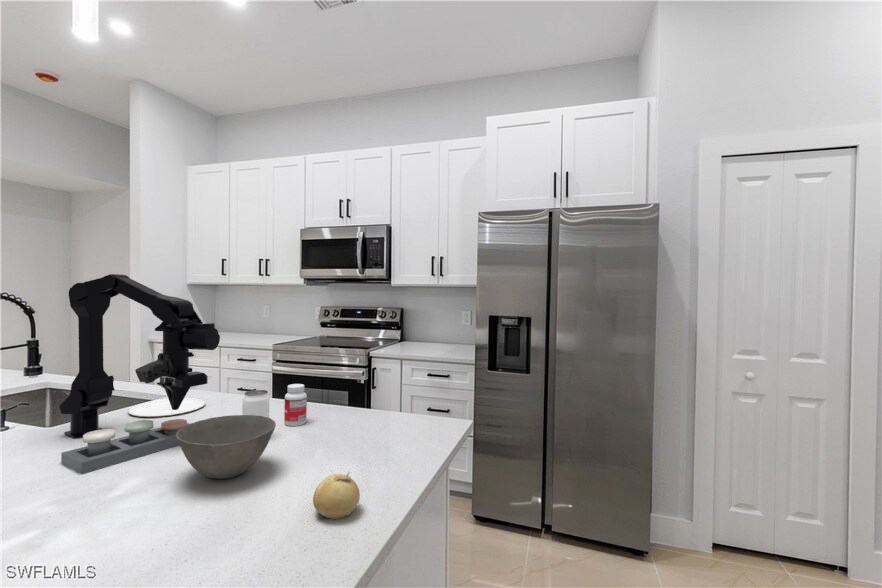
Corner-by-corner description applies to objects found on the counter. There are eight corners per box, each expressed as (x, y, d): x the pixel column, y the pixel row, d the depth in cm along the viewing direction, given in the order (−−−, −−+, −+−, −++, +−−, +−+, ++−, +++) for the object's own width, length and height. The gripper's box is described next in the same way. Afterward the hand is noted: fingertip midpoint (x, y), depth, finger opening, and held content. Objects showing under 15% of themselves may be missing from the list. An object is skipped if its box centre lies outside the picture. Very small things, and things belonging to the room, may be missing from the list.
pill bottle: (286, 420, 126) (287, 383, 126) (307, 419, 127) (308, 383, 127) (282, 427, 120) (282, 388, 120) (304, 426, 121) (305, 387, 121)
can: (258, 443, 107) (259, 396, 107) (236, 441, 108) (237, 394, 108) (273, 434, 113) (274, 390, 113) (252, 432, 114) (253, 388, 114)
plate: (110, 416, 127) (110, 412, 127) (166, 399, 147) (166, 395, 147) (170, 422, 123) (171, 417, 123) (219, 403, 144) (219, 399, 144)
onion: (315, 529, 70) (316, 486, 69) (310, 506, 77) (311, 467, 77) (363, 519, 73) (364, 478, 73) (354, 498, 80) (354, 461, 80)
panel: (61, 463, 92) (61, 452, 92) (183, 430, 115) (183, 421, 115) (81, 474, 87) (81, 462, 87) (204, 437, 110) (204, 428, 110)
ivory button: (78, 453, 93) (78, 434, 93) (108, 445, 98) (108, 427, 98) (89, 458, 90) (89, 439, 90) (119, 450, 95) (120, 432, 95)
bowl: (170, 504, 76) (170, 449, 76) (179, 465, 93) (180, 420, 93) (280, 484, 85) (280, 434, 85) (270, 451, 102) (271, 410, 101)
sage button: (120, 442, 100) (120, 424, 100) (146, 435, 105) (146, 418, 105) (131, 447, 97) (132, 429, 97) (158, 439, 102) (158, 422, 102)
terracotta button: (156, 439, 107) (156, 423, 107) (179, 433, 112) (179, 417, 112) (168, 444, 104) (168, 427, 104) (191, 437, 109) (191, 421, 109)
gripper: (121, 349, 106) (121, 411, 106) (161, 356, 96) (160, 424, 96) (168, 344, 115) (168, 401, 115) (209, 350, 106) (208, 412, 106)
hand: (175, 409), depth 108 cm, fingers closed
